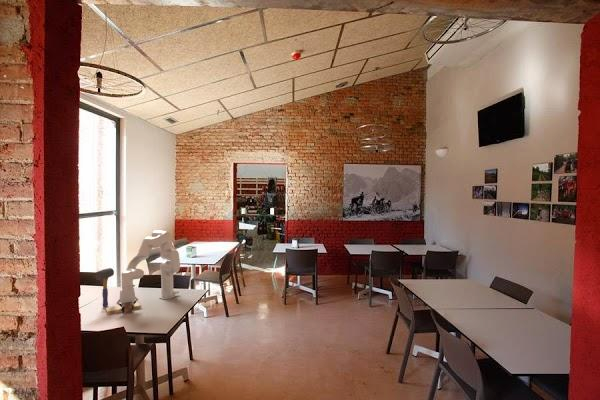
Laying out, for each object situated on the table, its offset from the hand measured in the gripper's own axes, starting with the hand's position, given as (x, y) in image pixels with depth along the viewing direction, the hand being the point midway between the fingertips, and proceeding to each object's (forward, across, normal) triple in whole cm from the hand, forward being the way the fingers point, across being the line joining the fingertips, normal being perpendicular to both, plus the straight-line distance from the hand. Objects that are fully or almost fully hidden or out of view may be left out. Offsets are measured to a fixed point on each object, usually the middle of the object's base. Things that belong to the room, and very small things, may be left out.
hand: (127, 310), depth 244 cm
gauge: (+1, 0, -5) cm, 5 cm away
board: (+1, +2, -8) cm, 8 cm away
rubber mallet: (+1, +12, -24) cm, 27 cm away
